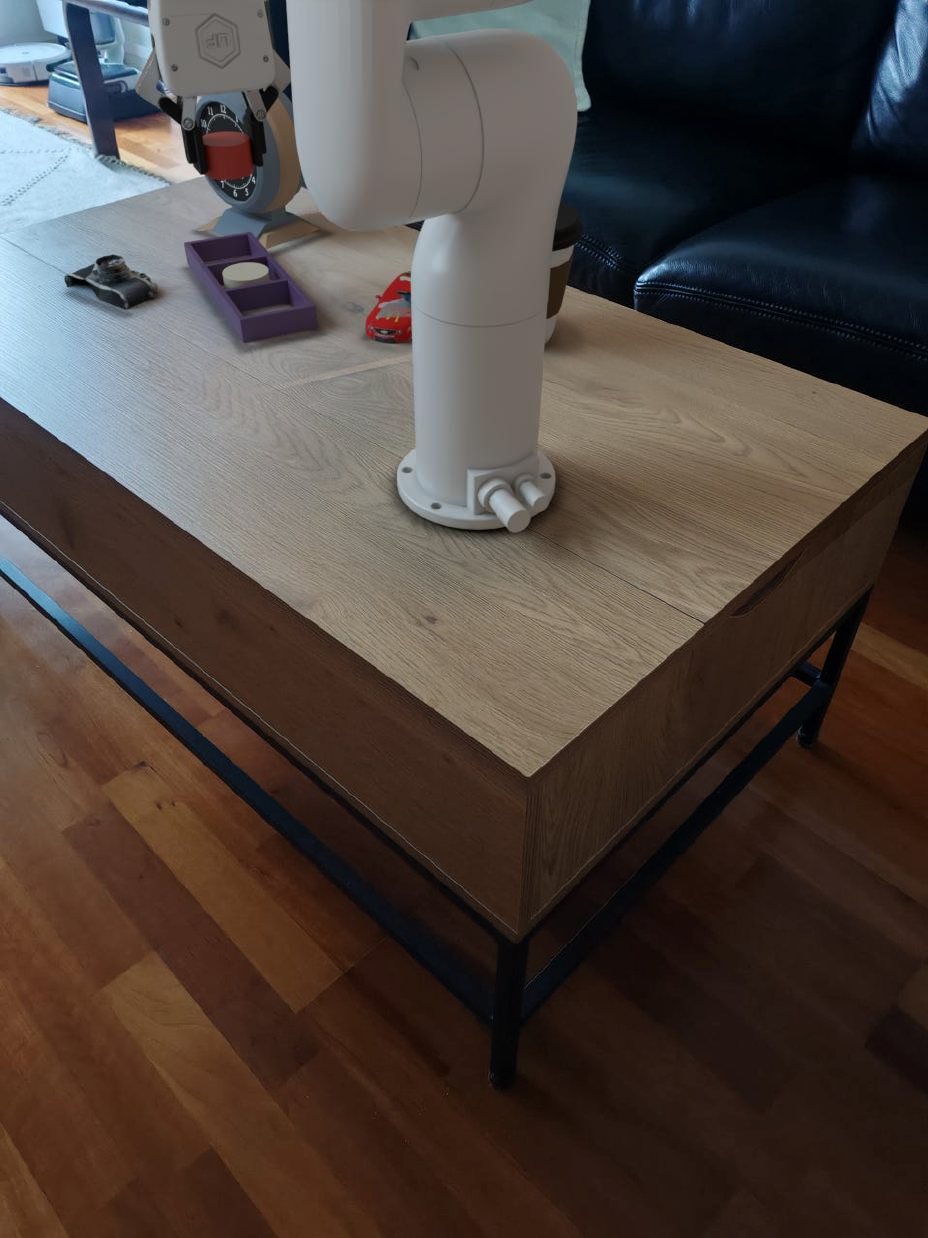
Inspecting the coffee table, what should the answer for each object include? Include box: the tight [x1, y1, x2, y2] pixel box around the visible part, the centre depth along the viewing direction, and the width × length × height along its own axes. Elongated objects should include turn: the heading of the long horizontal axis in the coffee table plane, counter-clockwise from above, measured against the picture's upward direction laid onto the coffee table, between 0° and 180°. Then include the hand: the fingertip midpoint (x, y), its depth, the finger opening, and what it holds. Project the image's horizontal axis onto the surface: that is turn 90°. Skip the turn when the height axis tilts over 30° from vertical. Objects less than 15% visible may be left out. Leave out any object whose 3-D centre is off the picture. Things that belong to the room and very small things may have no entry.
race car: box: [364, 270, 412, 344], centre depth 99 cm, size 13×5×4 cm, turn 161°
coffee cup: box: [545, 201, 585, 344], centre depth 94 cm, size 11×11×12 cm
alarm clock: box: [195, 89, 320, 250], centre depth 112 cm, size 14×10×18 cm
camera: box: [63, 253, 159, 310], centre depth 103 cm, size 5×10×4 cm, turn 53°
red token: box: [203, 132, 254, 180], centre depth 94 cm, size 5×5×3 cm
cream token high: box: [222, 262, 271, 289], centre depth 102 cm, size 5×5×1 cm
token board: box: [183, 232, 319, 344], centre depth 103 cm, size 22×8×3 cm, turn 26°
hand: (228, 164), depth 94 cm, fingers closed on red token, 4 cm apart
